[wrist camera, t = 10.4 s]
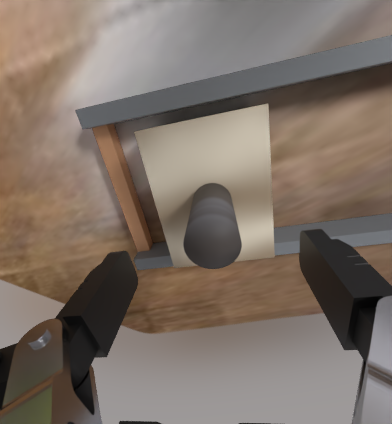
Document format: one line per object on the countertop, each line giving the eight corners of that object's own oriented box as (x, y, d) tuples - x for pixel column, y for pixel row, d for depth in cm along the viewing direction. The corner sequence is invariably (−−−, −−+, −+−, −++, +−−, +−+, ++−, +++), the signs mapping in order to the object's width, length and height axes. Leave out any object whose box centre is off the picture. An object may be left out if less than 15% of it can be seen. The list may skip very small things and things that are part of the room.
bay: (93, 110, 20) (59, 109, 15) (582, -4, 14) (749, -57, 10) (145, 254, 27) (131, 282, 22) (488, 213, 21) (561, 240, 17)
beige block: (155, 126, 20) (86, 142, 9) (251, 106, 18) (308, 96, 8) (182, 234, 25) (159, 328, 14) (260, 223, 23) (301, 319, 13)
